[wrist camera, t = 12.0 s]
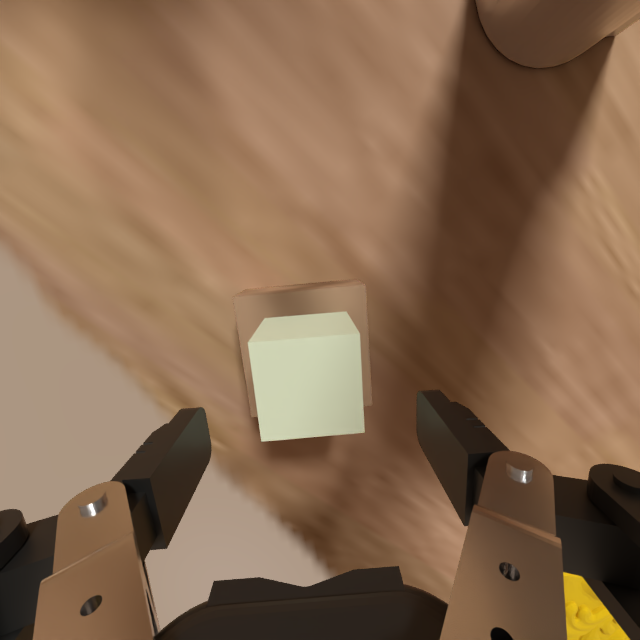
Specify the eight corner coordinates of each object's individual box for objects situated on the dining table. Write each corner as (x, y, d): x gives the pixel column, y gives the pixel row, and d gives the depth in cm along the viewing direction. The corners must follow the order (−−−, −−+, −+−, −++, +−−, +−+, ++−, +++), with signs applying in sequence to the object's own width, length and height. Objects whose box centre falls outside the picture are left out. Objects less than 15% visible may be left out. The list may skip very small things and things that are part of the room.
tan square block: (355, 278, 22) (365, 284, 18) (362, 379, 23) (372, 405, 20) (246, 288, 22) (232, 297, 18) (261, 389, 23) (251, 417, 19)
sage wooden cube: (346, 311, 18) (359, 333, 13) (350, 386, 19) (364, 432, 14) (264, 318, 18) (247, 342, 13) (273, 393, 19) (261, 441, 14)
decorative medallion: (587, 693, 33) (605, 721, 31) (433, 601, 29) (442, 626, 27) (767, 556, 29) (800, 577, 27) (618, 429, 25) (643, 444, 23)
